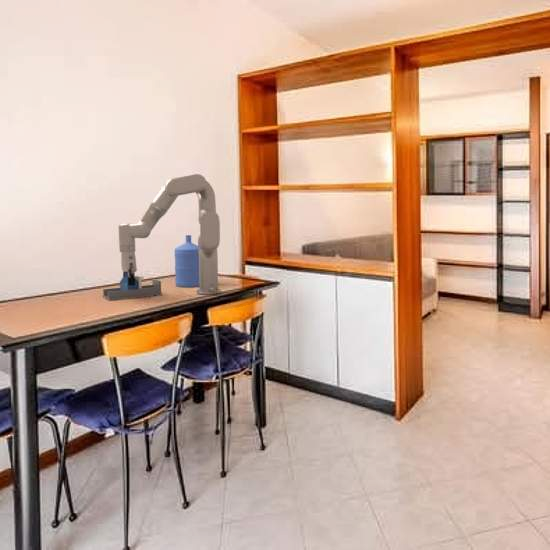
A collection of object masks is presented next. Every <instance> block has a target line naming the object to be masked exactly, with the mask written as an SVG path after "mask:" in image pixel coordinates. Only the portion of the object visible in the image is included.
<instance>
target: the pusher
mask: <svg viewBox="0 0 550 550" xmlns="http://www.w3.org/2000/svg"><path fill="white" fill-rule="evenodd" d="M144 277H145V276H143V275H140V274H138V275H135V278H136V279H137V281H138V289H142V286H143V285H142V279H145V278H144Z"/></svg>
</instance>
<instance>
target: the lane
mask: <svg viewBox="0 0 550 550" xmlns="http://www.w3.org/2000/svg"><path fill="white" fill-rule="evenodd" d="M151 280H152V284H145V285H142V289H132V290H121V291H120V287H111V288H103V289H102V297H103V298H104V297H105V298H104V299H106V300H107V299H108V301H109V300H110V301H117V299H120V300H127V299H126V298H130V299H136V298H135V297H140V298H146V297H145V296H150V297H155V296H154V295H160V296H163V292H162V280H161V281H160V280H159V279H155V278H152V279H151Z"/></svg>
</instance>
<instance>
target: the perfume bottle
mask: <svg viewBox="0 0 550 550" xmlns="http://www.w3.org/2000/svg"><path fill="white" fill-rule="evenodd" d="M125 275H126V277H123V276H122V278H121V279H120V281H119V288H120V291H121V290H132V289H138V281H137V279H136V278H135V285H131V286H129V285H128V277H129V276H128V272H126V273H125Z"/></svg>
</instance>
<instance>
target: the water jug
mask: <svg viewBox="0 0 550 550" xmlns="http://www.w3.org/2000/svg"><path fill="white" fill-rule="evenodd" d="M174 272H175V286H176V287H178V286H181V287H180V288H196V287H195V286H198V287H200V286H199V250H198V244H195V243H193V242H192V235H189V234H187V235H185V243H183V244H180V245H179V246H177V247H175V248H174Z"/></svg>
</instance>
